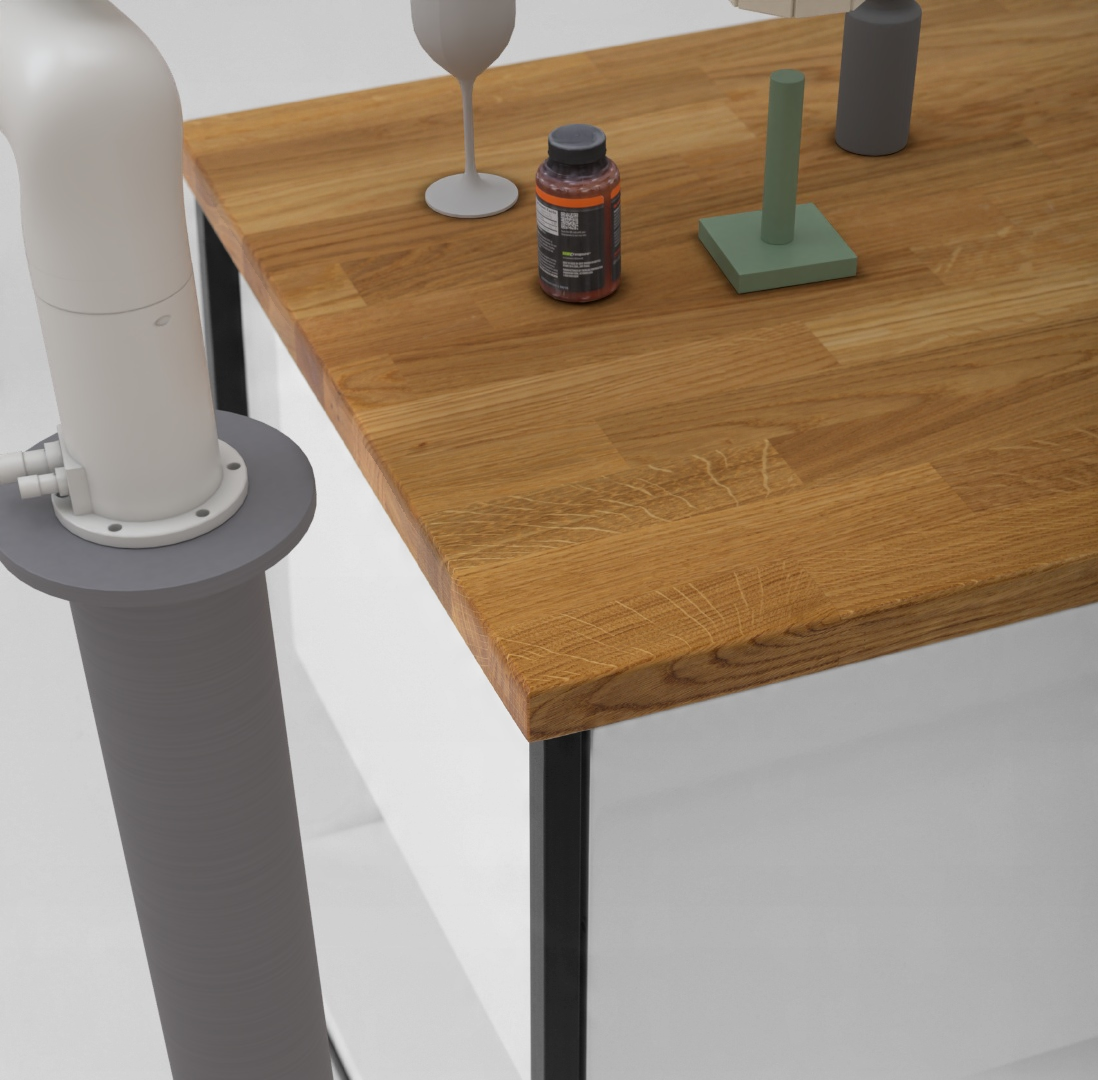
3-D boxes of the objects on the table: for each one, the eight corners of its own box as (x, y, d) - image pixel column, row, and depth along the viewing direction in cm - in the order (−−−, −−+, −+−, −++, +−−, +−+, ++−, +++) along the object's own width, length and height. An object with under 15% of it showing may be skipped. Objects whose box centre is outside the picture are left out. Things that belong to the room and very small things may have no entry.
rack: (738, 293, 146) (748, 110, 137) (697, 237, 152) (704, 58, 143) (856, 275, 148) (873, 93, 138) (811, 220, 154) (825, 42, 145)
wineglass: (536, 184, 159) (530, -97, 145) (494, 226, 154) (484, -60, 140) (449, 167, 161) (435, -110, 147) (405, 208, 156) (386, -75, 142)
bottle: (910, 127, 165) (931, -64, 155) (904, 159, 161) (926, -35, 151) (838, 121, 166) (854, -68, 156) (830, 153, 162) (846, -40, 152)
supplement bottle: (605, 260, 150) (605, 110, 142) (632, 298, 146) (634, 146, 138) (527, 273, 149) (523, 123, 141) (552, 312, 144) (550, 159, 137)
